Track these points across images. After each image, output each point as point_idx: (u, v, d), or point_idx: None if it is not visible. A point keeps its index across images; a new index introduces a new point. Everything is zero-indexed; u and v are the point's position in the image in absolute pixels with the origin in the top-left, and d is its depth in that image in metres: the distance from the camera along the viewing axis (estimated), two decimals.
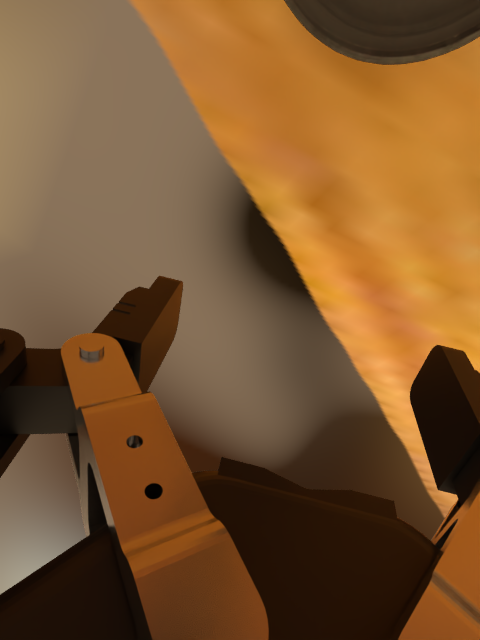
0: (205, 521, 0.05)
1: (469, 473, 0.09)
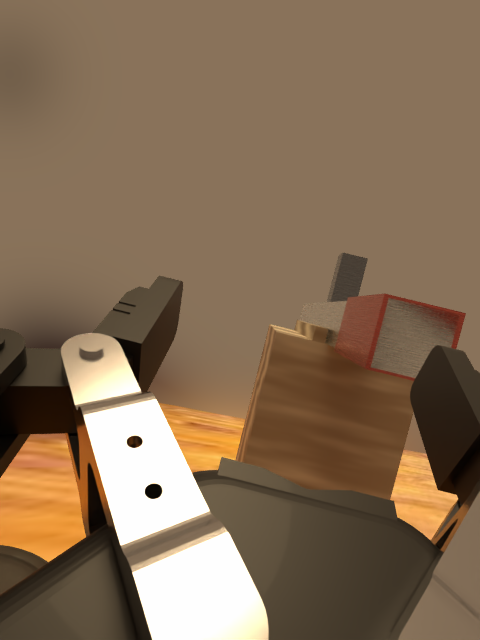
0: (205, 521, 0.05)
1: (469, 473, 0.09)
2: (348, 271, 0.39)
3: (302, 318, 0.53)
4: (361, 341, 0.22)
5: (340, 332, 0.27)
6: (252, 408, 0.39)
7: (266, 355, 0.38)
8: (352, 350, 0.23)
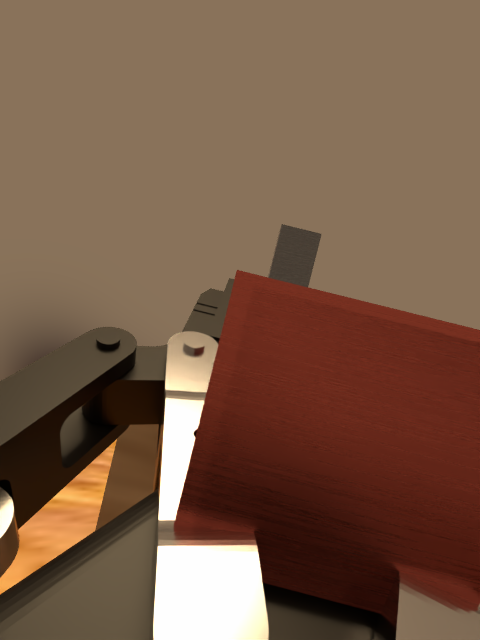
0: None
1: None
2: (291, 255, 0.24)
3: None
4: None
5: None
6: None
7: None
8: None
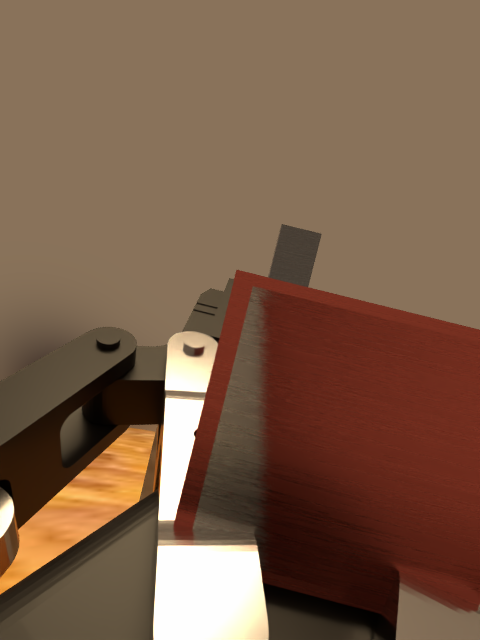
0: None
1: None
2: (291, 255, 0.24)
3: None
4: None
5: None
6: None
7: None
8: None
